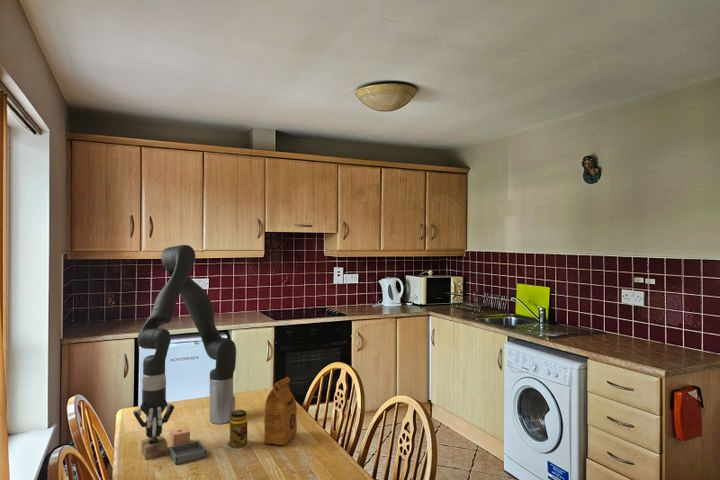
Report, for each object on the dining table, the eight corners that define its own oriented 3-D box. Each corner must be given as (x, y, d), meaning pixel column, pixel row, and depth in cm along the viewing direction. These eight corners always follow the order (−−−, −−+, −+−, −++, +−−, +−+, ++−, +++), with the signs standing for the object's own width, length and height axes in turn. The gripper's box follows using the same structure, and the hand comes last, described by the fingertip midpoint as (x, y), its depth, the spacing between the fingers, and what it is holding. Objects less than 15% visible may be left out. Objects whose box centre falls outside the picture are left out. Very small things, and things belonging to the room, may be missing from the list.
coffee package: (301, 435, 183) (301, 377, 182) (284, 449, 171) (284, 386, 171) (278, 431, 186) (278, 374, 186) (260, 444, 175) (260, 383, 174)
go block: (162, 446, 172) (162, 435, 172) (167, 454, 166) (167, 442, 166) (141, 451, 168) (141, 440, 168) (145, 459, 162) (145, 447, 162)
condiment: (241, 450, 170) (241, 416, 169) (220, 447, 172) (220, 413, 172) (252, 442, 176) (252, 409, 176) (232, 439, 179) (232, 406, 179)
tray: (198, 447, 172) (198, 440, 172) (206, 457, 164) (206, 449, 164) (169, 454, 166) (169, 447, 166) (175, 464, 159) (175, 457, 159)
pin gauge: (156, 443, 169) (156, 414, 169) (157, 445, 167) (158, 416, 167) (149, 444, 167) (149, 415, 167) (151, 447, 166) (151, 418, 166)
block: (185, 440, 178) (185, 426, 178) (189, 445, 173) (189, 431, 173) (169, 443, 175) (170, 429, 175) (173, 449, 170) (173, 435, 170)
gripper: (172, 380, 174) (172, 428, 174) (130, 386, 166) (130, 437, 166) (177, 385, 168) (177, 435, 168) (134, 392, 160) (133, 445, 160)
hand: (153, 436), depth 167 cm, fingers closed on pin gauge, 2 cm apart
